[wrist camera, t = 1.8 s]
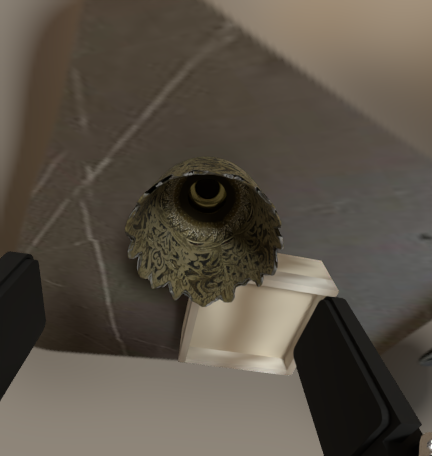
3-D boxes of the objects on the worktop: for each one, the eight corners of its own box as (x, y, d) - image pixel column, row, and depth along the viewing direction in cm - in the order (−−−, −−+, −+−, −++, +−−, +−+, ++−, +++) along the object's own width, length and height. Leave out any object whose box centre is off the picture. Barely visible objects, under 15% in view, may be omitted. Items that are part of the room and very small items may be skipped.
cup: (192, 246, 22) (183, 325, 15) (134, 171, 19) (89, 227, 12) (276, 203, 21) (309, 270, 14) (227, 111, 17) (236, 138, 10)
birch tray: (321, 260, 23) (338, 291, 20) (281, 340, 28) (290, 375, 25) (201, 239, 22) (199, 268, 19) (182, 327, 27) (178, 361, 24)
